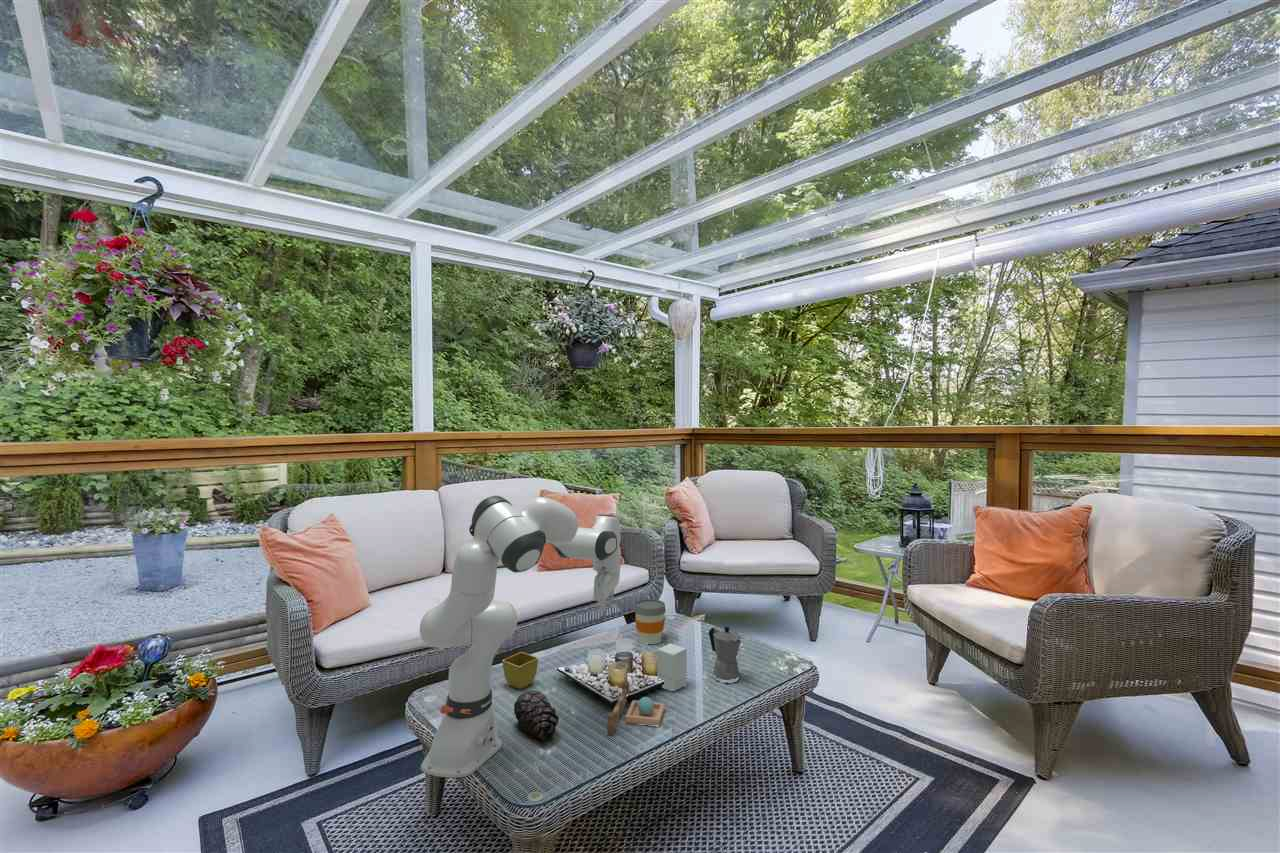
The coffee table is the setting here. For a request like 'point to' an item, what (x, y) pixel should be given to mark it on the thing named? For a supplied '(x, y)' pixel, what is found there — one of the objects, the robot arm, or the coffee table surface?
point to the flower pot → (520, 669)
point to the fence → (617, 710)
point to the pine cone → (536, 716)
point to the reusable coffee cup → (650, 620)
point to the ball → (645, 706)
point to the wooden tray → (638, 718)
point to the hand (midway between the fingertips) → (606, 606)
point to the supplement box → (672, 666)
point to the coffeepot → (725, 653)
